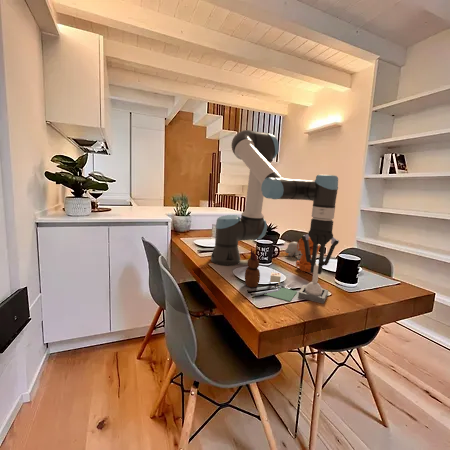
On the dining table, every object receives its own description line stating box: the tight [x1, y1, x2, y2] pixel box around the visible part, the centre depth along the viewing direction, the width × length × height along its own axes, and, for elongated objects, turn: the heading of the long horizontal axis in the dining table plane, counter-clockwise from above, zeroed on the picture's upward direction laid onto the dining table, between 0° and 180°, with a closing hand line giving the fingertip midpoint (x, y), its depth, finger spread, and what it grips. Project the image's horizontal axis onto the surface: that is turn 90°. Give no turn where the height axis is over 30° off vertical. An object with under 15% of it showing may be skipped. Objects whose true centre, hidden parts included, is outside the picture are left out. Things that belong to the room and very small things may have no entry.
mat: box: [263, 287, 298, 302], centre depth 100 cm, size 10×10×1 cm
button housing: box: [297, 284, 329, 305], centre depth 100 cm, size 9×9×2 cm
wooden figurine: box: [244, 247, 261, 288], centre depth 105 cm, size 7×6×15 cm
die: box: [269, 272, 282, 286], centre depth 110 cm, size 4×4×4 cm
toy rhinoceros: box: [284, 241, 303, 260], centre depth 150 cm, size 7×12×8 cm, turn 26°
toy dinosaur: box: [295, 237, 320, 273], centre depth 128 cm, size 11×11×18 cm
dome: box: [304, 281, 324, 297], centre depth 99 cm, size 6×6×5 cm
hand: (314, 281), depth 99 cm, fingers closed
